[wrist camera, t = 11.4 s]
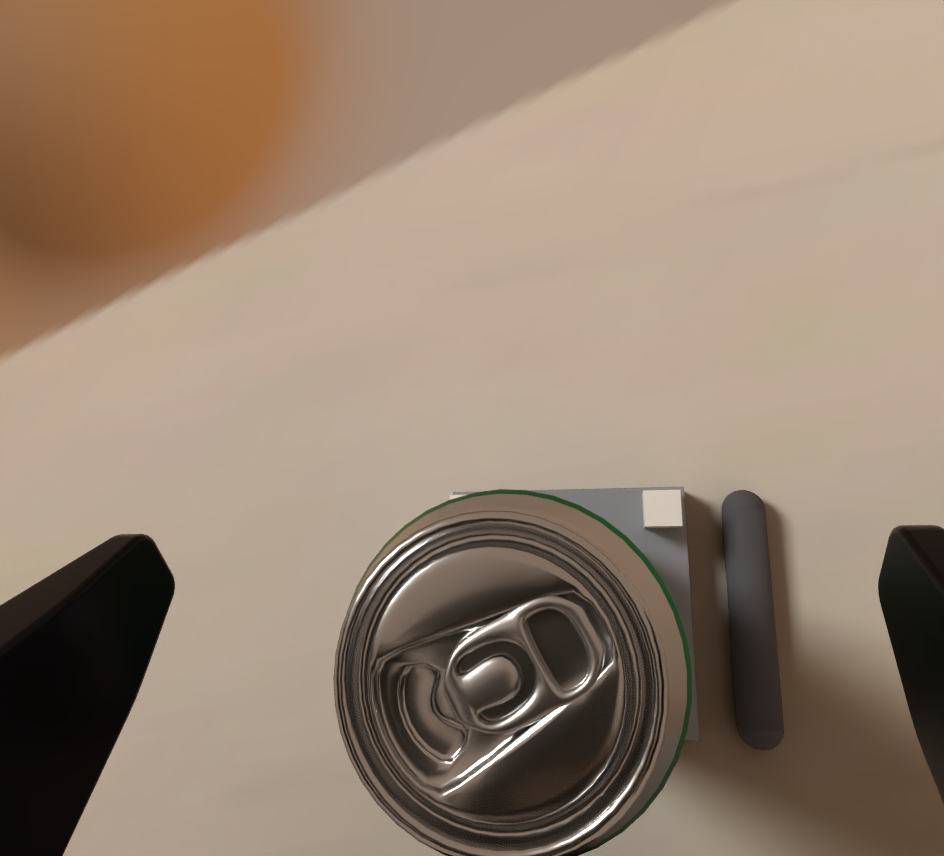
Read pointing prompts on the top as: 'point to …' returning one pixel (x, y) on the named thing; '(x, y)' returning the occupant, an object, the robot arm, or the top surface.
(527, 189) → the top surface
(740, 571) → the dark grey rod
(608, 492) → the switch plate
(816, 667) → the top surface
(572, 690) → the soda can
